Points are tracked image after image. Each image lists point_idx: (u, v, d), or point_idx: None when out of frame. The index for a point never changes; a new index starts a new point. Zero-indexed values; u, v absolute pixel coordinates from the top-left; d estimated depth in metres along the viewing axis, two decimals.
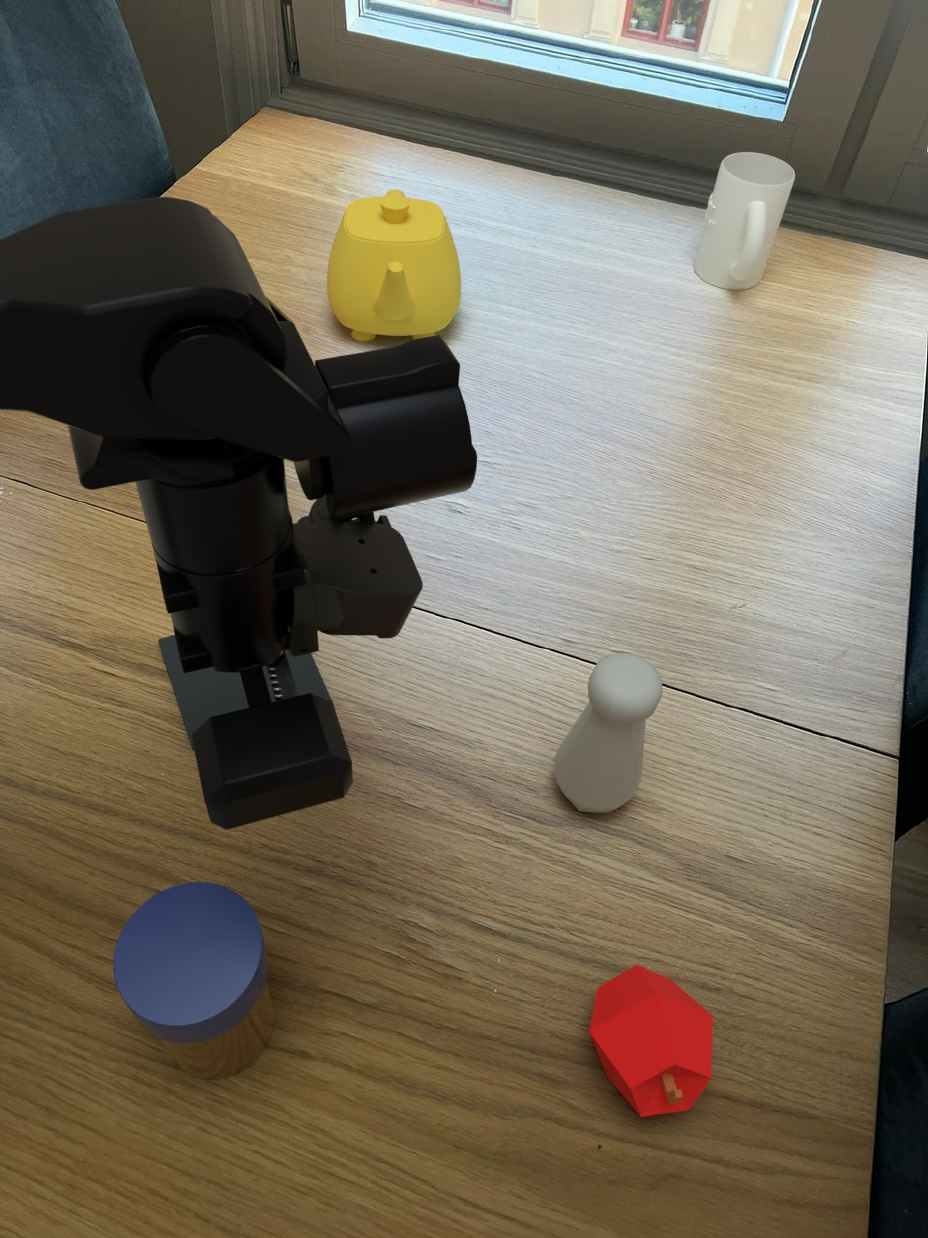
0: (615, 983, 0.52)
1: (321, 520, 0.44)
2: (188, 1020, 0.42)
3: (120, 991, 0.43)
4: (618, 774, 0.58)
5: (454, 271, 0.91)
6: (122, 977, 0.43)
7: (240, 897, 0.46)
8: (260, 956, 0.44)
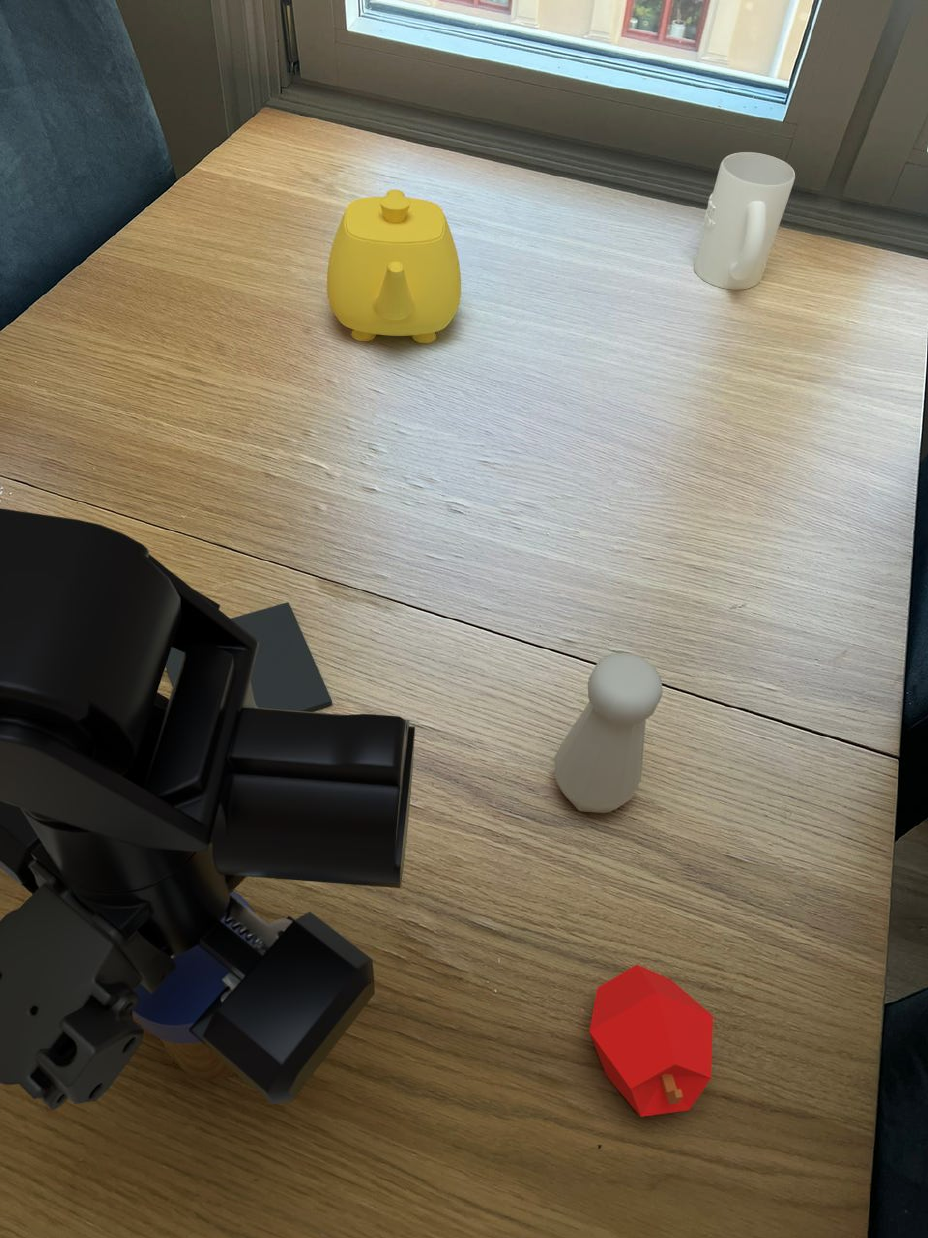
0: (615, 983, 0.52)
1: (90, 990, 0.33)
2: (188, 1020, 0.42)
3: None
4: (618, 774, 0.58)
5: (454, 271, 0.91)
6: None
7: (240, 897, 0.46)
8: None
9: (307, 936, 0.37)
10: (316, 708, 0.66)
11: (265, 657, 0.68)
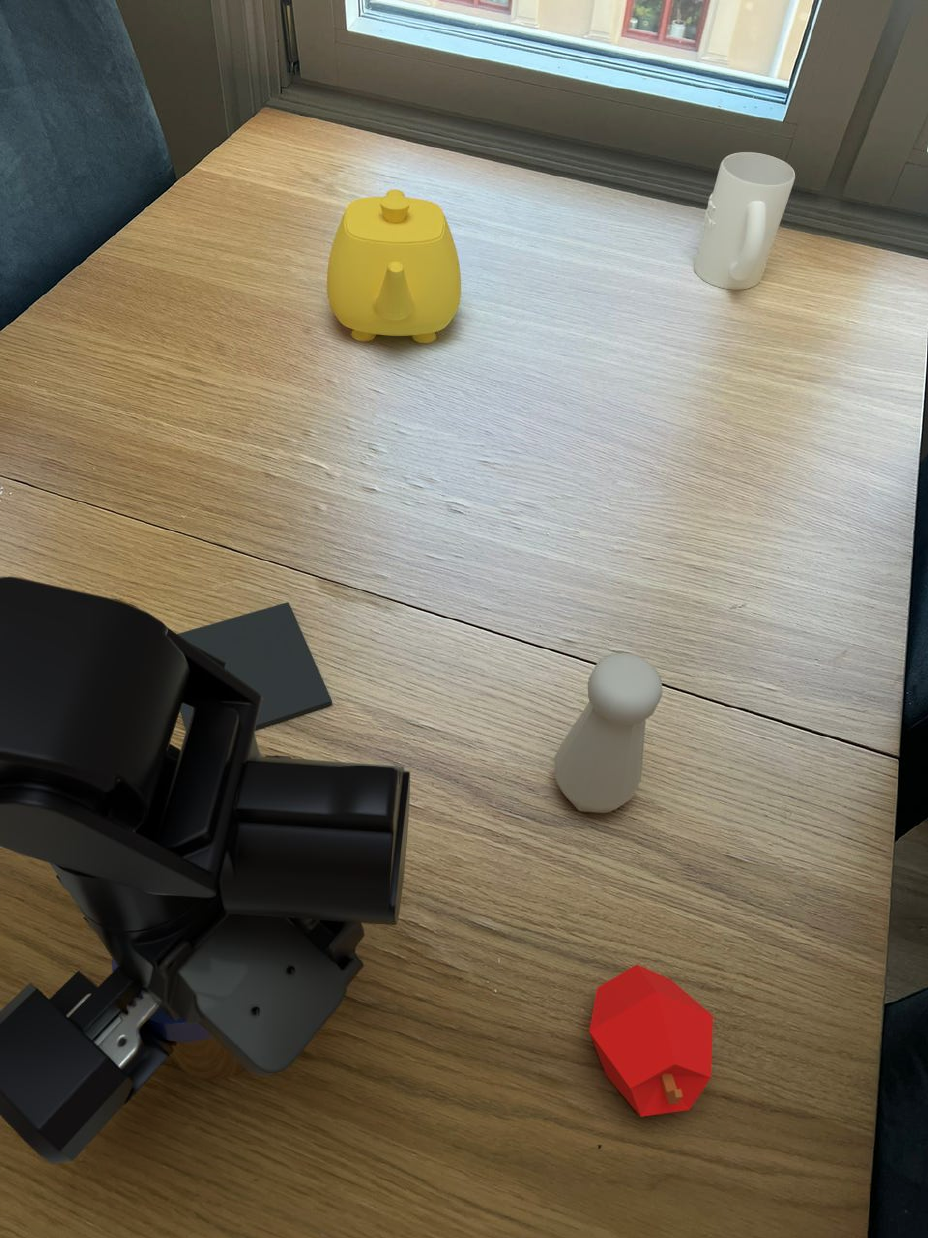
0: (615, 983, 0.52)
1: (282, 917, 0.38)
2: None
3: None
4: (618, 774, 0.58)
5: (454, 271, 0.91)
6: None
7: None
8: None
9: None
10: (316, 708, 0.66)
11: (265, 657, 0.68)
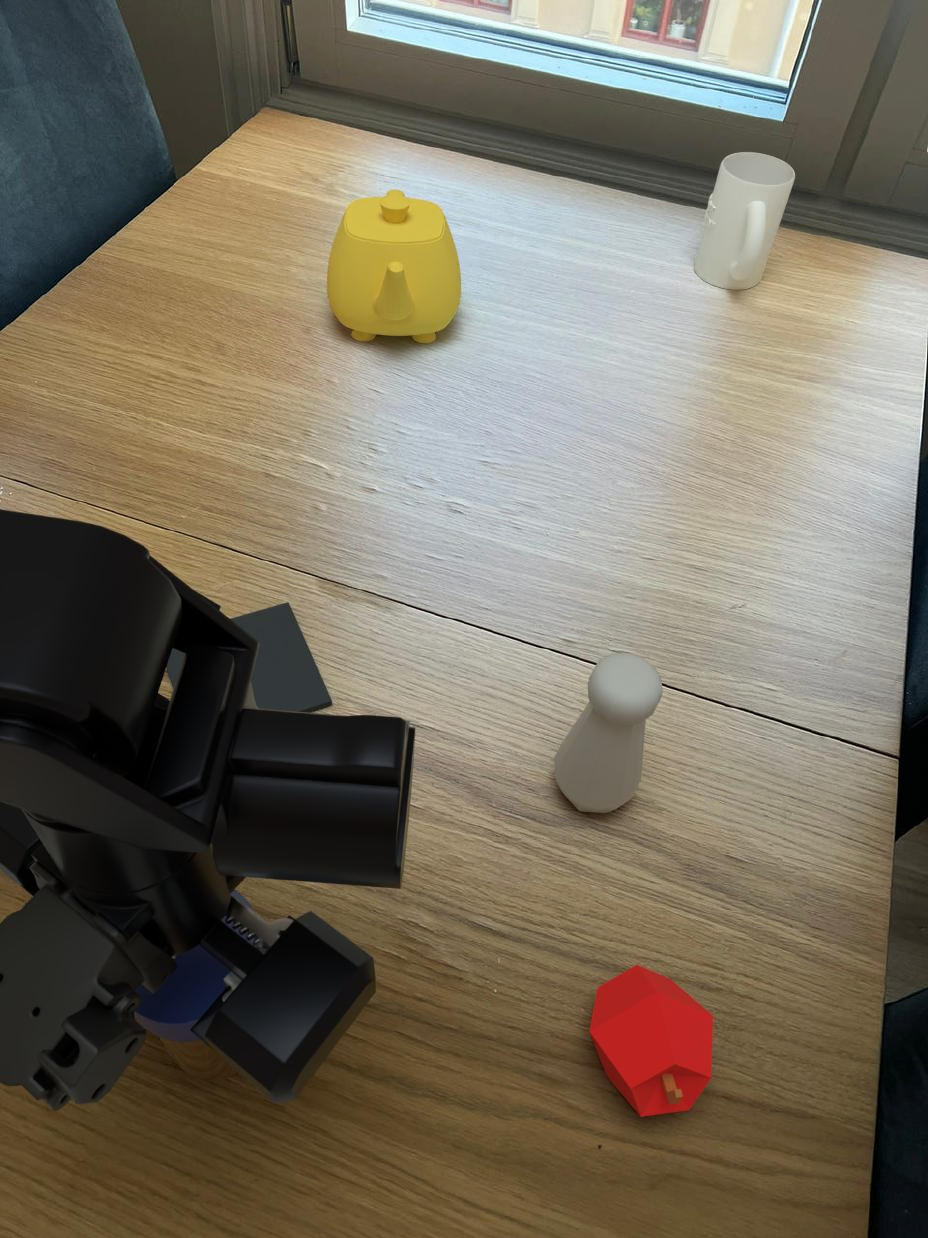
0: (615, 983, 0.52)
1: (92, 991, 0.33)
2: None
3: None
4: (618, 774, 0.58)
5: (454, 271, 0.91)
6: None
7: None
8: None
9: (308, 935, 0.37)
10: (316, 708, 0.66)
11: (265, 657, 0.68)
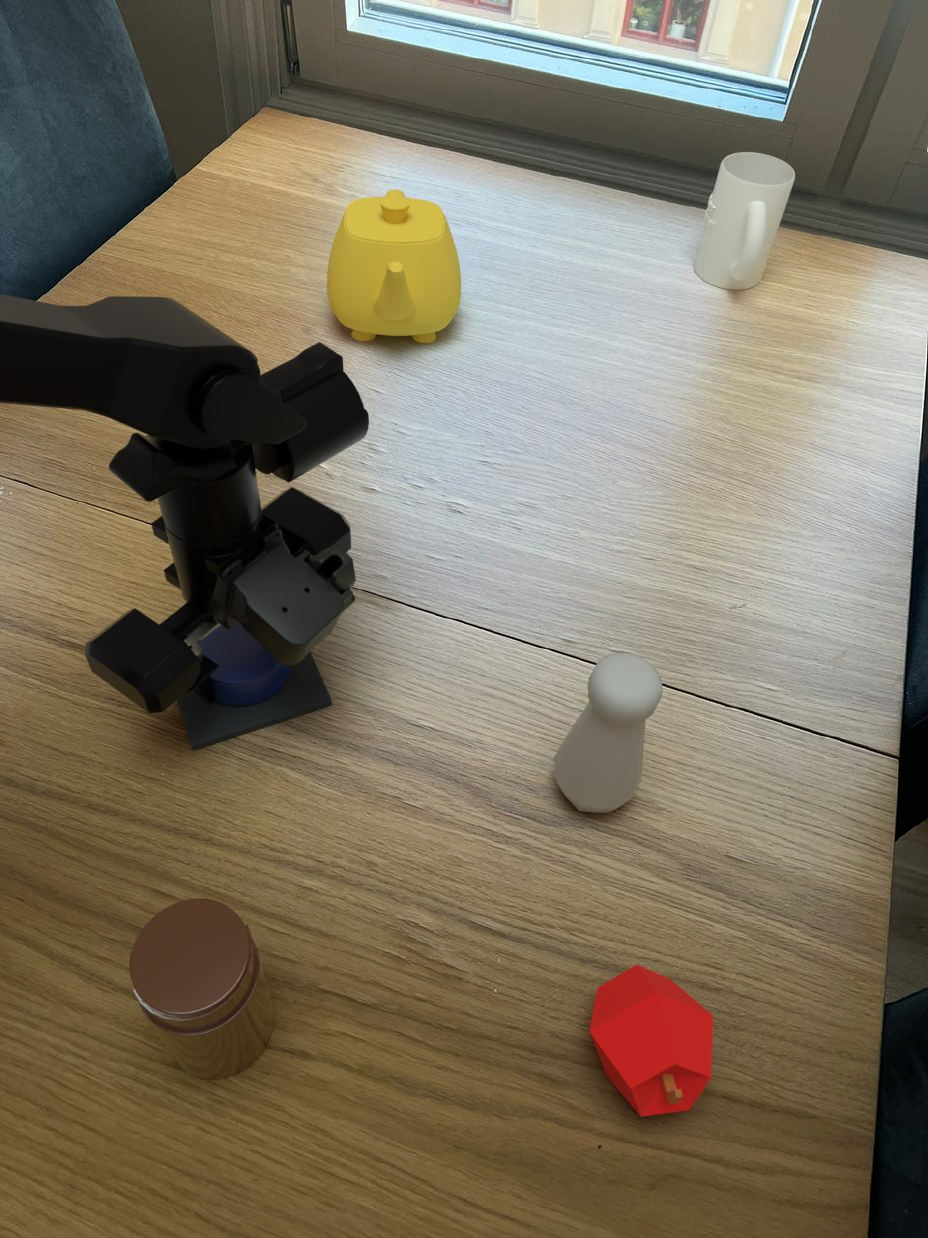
0: (615, 983, 0.52)
1: (300, 559, 0.57)
2: None
3: None
4: (618, 774, 0.58)
5: (454, 271, 0.91)
6: None
7: None
8: None
9: (269, 507, 0.64)
10: (316, 708, 0.66)
11: None
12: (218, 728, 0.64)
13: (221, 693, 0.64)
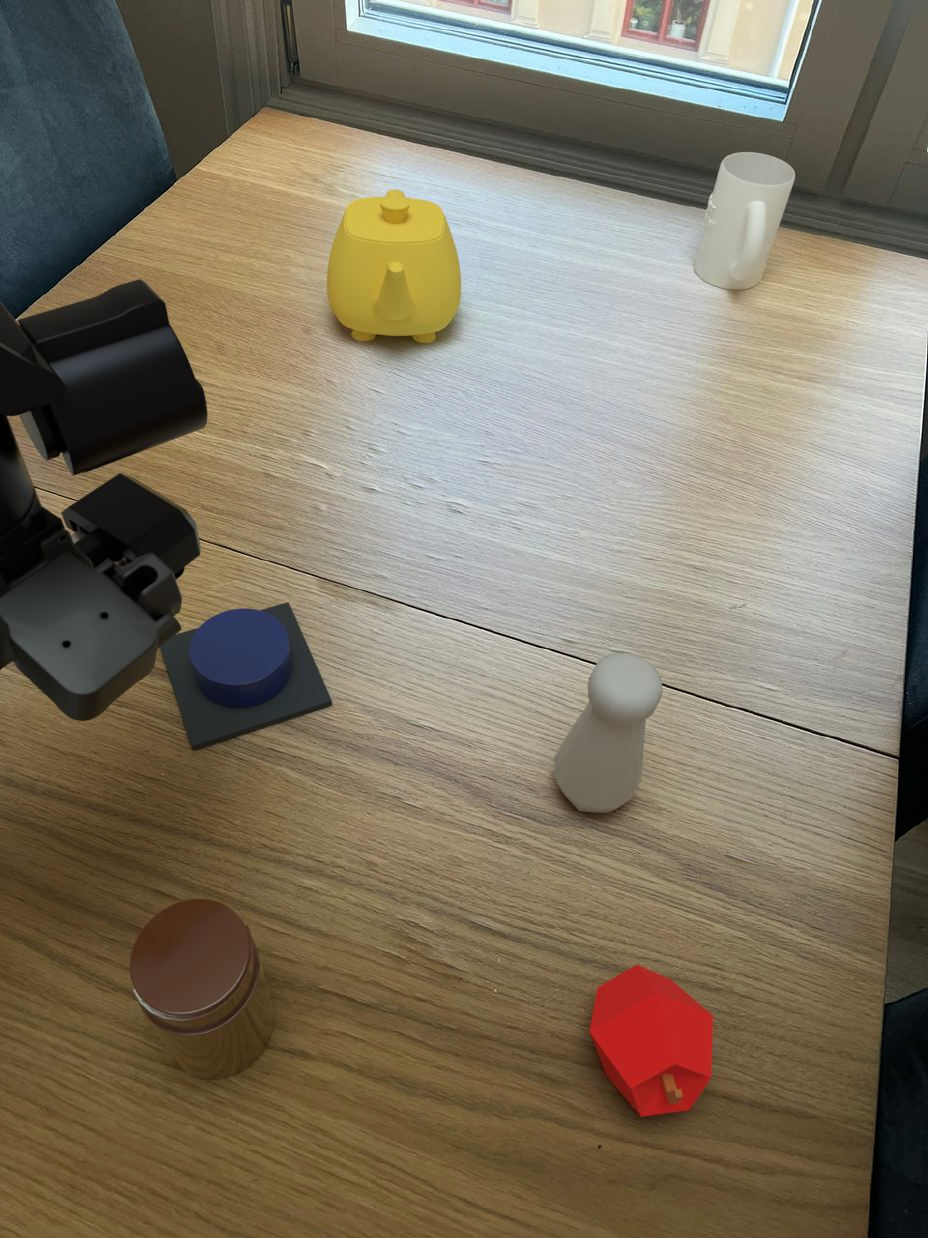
0: (615, 983, 0.52)
1: (99, 572, 0.41)
2: (236, 610, 0.67)
3: (281, 624, 0.67)
4: (618, 774, 0.58)
5: (454, 271, 0.91)
6: (281, 631, 0.66)
7: (204, 675, 0.64)
8: (191, 642, 0.65)
9: (84, 499, 0.47)
10: (316, 708, 0.66)
11: None
12: (218, 728, 0.64)
13: (222, 695, 0.64)
